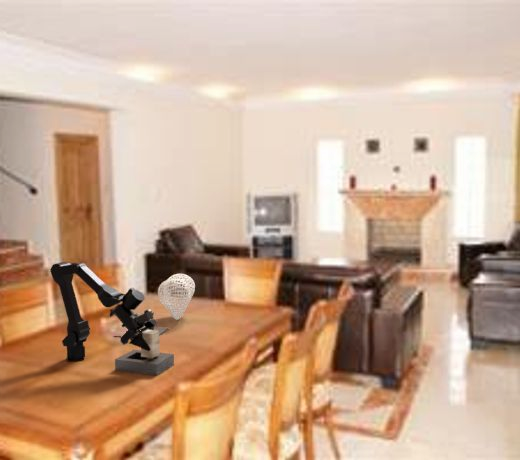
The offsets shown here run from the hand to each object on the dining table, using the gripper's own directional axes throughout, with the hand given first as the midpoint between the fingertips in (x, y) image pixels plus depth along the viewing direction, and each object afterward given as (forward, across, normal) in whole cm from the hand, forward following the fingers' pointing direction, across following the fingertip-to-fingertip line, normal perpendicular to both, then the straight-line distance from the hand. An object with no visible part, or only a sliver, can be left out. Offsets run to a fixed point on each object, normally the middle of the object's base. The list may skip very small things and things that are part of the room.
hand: (153, 348), depth 223 cm
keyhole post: (+4, 0, +6) cm, 7 cm away
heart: (-13, +69, +25) cm, 75 cm away
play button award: (-15, +42, +28) cm, 53 cm away
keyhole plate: (+3, 0, +8) cm, 9 cm away
